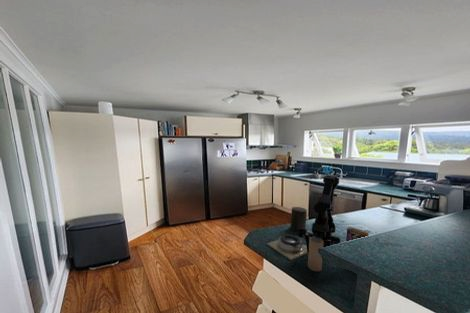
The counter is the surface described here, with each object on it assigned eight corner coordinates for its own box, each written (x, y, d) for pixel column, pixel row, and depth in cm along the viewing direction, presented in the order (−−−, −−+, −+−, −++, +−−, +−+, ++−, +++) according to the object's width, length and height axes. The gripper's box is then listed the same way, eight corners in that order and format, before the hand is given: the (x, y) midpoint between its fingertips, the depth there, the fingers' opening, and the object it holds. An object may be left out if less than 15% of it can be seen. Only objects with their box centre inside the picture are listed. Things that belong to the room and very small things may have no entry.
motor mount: (288, 238, 125) (289, 229, 124) (313, 251, 110) (313, 242, 110) (267, 244, 115) (267, 235, 115) (290, 260, 101) (291, 250, 101)
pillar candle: (292, 231, 134) (294, 209, 132) (288, 225, 143) (290, 204, 142) (307, 232, 134) (309, 209, 132) (302, 226, 143) (304, 205, 142)
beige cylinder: (313, 262, 100) (315, 234, 99) (324, 268, 95) (326, 239, 94) (304, 265, 97) (306, 236, 96) (316, 272, 92) (318, 242, 91)
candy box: (366, 261, 102) (369, 231, 101) (364, 265, 99) (367, 234, 98) (346, 254, 109) (349, 226, 107) (344, 257, 105) (346, 228, 104)
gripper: (299, 211, 103) (291, 242, 94) (341, 220, 93) (337, 255, 84) (302, 222, 110) (295, 251, 101) (341, 231, 100) (337, 264, 92)
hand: (314, 255), depth 94 cm, fingers closed on beige cylinder, 6 cm apart
